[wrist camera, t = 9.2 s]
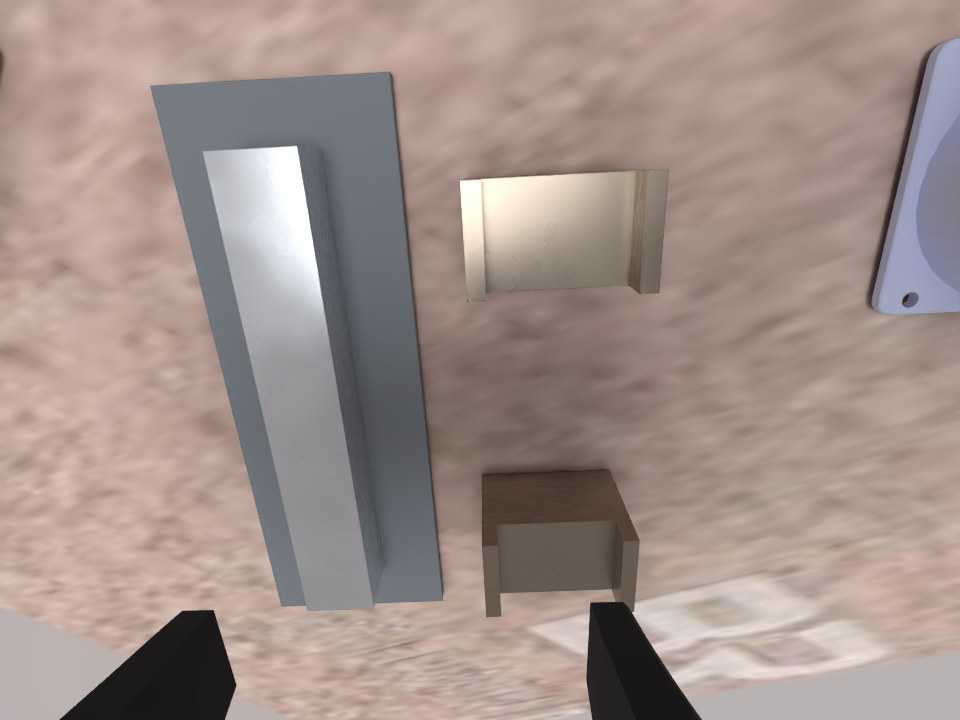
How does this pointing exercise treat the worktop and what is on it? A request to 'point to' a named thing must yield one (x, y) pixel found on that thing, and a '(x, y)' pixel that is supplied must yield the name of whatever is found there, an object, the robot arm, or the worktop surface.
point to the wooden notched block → (563, 231)
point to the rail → (302, 363)
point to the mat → (366, 285)
